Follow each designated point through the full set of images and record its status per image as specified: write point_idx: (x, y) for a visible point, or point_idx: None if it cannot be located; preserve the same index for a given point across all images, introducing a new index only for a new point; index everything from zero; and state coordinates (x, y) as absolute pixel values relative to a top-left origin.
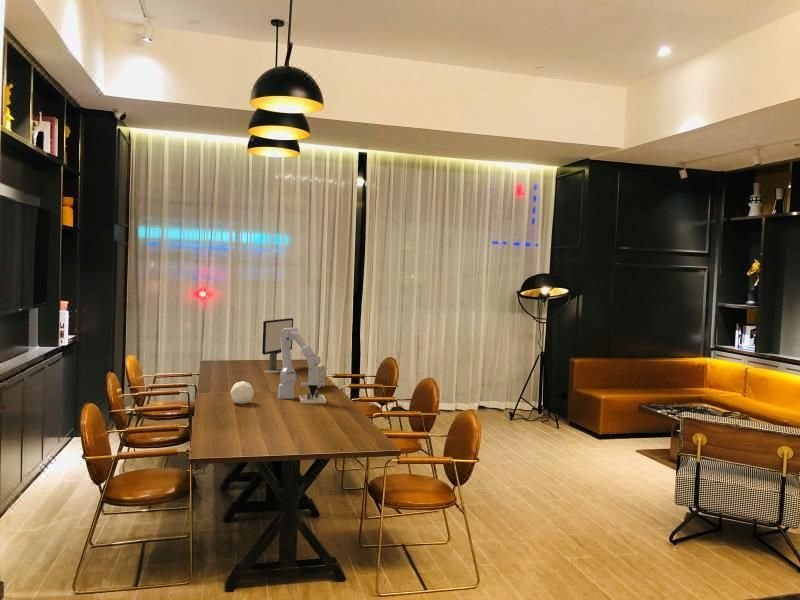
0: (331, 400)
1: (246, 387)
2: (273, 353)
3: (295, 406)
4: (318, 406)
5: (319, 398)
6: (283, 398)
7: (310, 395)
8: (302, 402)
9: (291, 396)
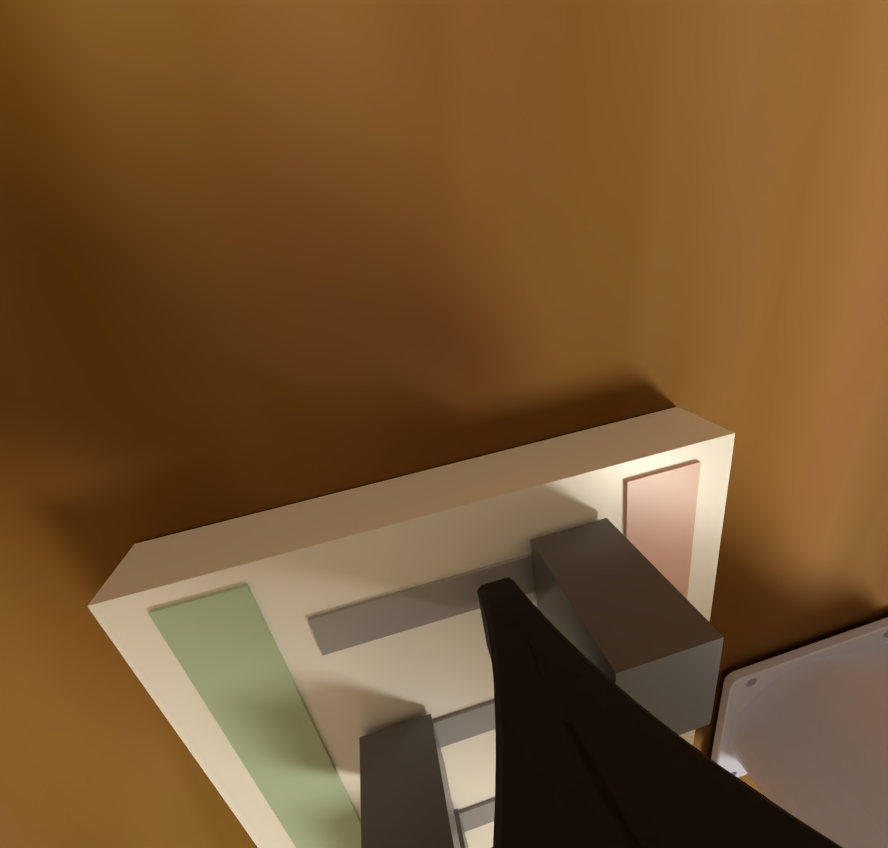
0: (103, 782)
1: None
2: None
3: (869, 17)
4: (245, 66)
5: (324, 690)
6: (860, 628)
7: (586, 613)
8: (669, 416)
9: (780, 703)
